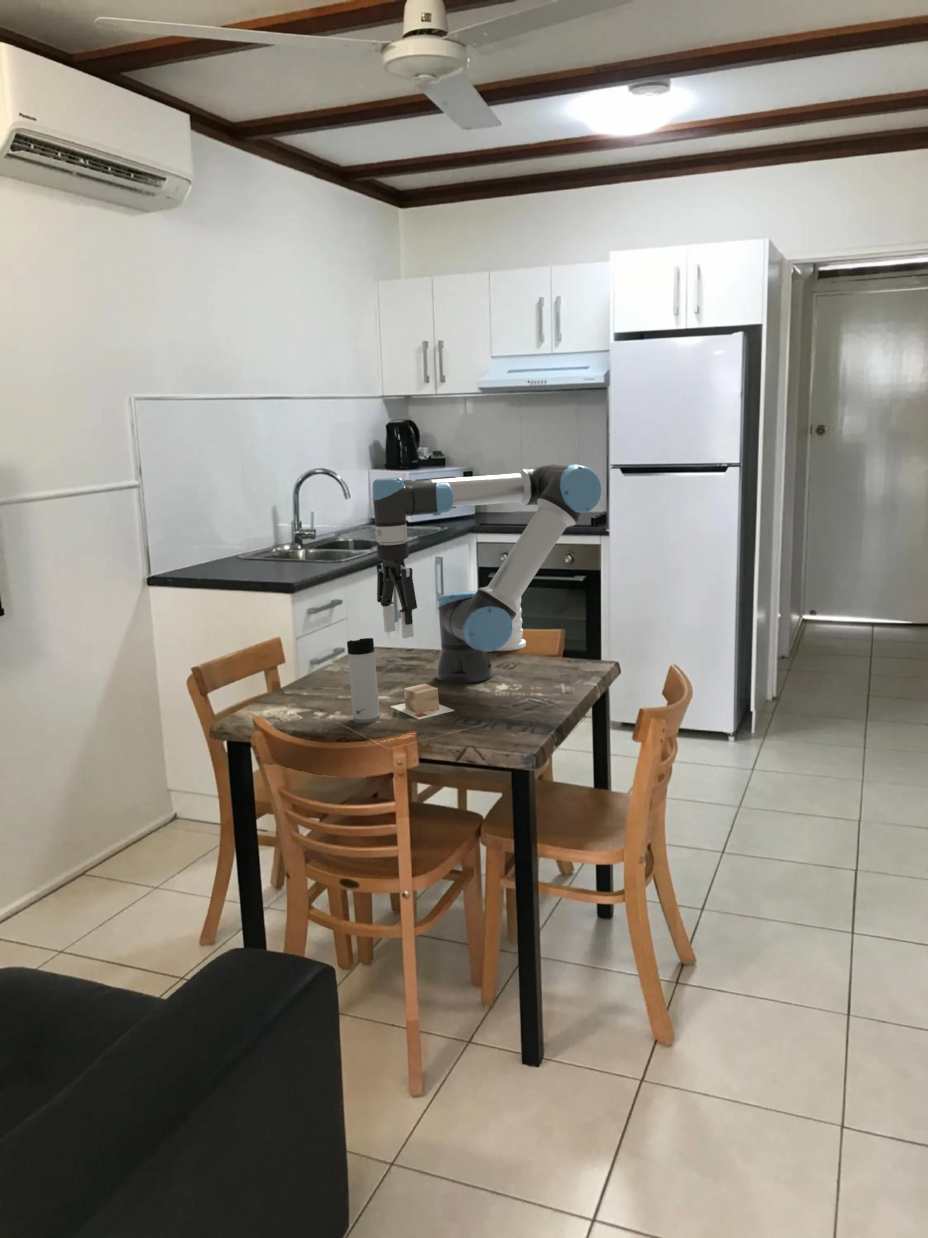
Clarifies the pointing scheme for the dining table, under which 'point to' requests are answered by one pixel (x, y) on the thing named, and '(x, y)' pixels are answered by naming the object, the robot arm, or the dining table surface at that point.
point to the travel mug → (363, 680)
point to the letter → (441, 710)
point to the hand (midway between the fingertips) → (398, 634)
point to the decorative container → (515, 632)
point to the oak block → (421, 698)
